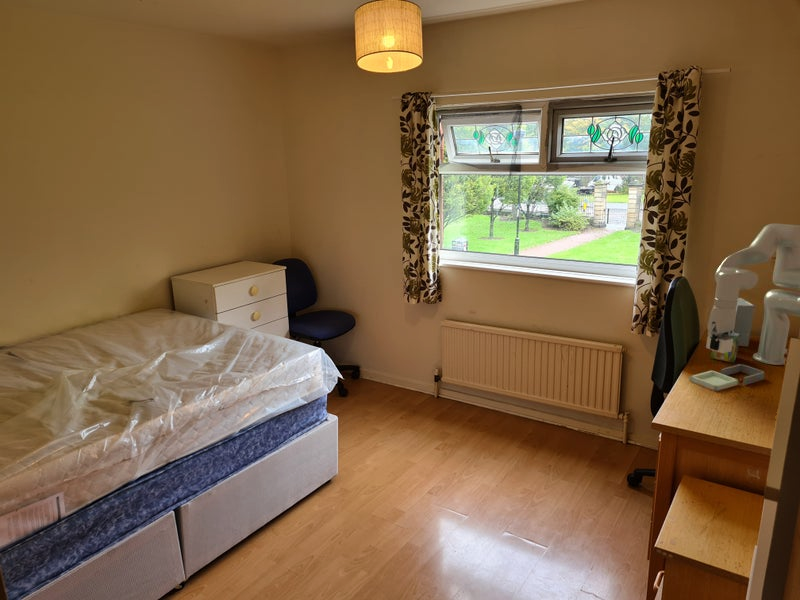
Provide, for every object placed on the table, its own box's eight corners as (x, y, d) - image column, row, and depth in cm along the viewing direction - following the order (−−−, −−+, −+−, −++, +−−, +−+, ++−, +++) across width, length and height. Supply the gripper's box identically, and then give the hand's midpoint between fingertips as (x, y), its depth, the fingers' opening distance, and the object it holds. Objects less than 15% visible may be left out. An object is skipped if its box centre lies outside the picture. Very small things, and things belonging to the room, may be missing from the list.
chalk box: (713, 352, 248) (718, 321, 244) (737, 357, 242) (742, 325, 238) (709, 358, 241) (714, 327, 237) (733, 363, 235) (738, 330, 232)
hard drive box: (748, 347, 254) (755, 306, 249) (730, 346, 256) (737, 305, 251) (736, 336, 269) (742, 297, 264) (719, 335, 271) (724, 296, 265)
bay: (739, 370, 228) (741, 363, 227) (764, 379, 219) (766, 372, 218) (720, 376, 222) (721, 369, 222) (744, 385, 213) (745, 378, 213)
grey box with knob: (714, 345, 216) (716, 330, 215) (731, 351, 210) (733, 335, 209) (706, 347, 214) (708, 331, 213) (722, 353, 208) (725, 337, 207)
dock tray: (711, 374, 224) (711, 370, 223) (737, 384, 214) (738, 380, 213) (689, 380, 218) (690, 376, 218) (715, 391, 208) (716, 386, 208)
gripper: (730, 298, 214) (723, 342, 219) (701, 304, 207) (695, 348, 212) (749, 303, 208) (742, 347, 213) (720, 308, 201) (713, 355, 205)
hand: (718, 347), depth 212 cm, fingers closed on grey box with knob, 5 cm apart
